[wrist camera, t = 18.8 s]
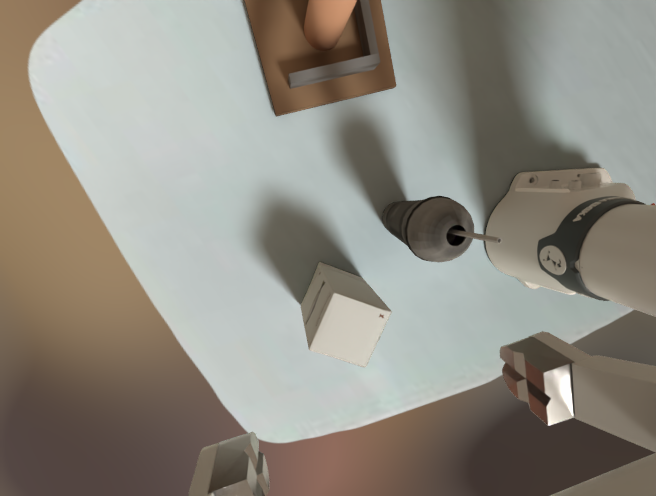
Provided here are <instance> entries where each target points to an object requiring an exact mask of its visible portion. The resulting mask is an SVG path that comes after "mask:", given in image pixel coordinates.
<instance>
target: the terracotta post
mask: <svg viewBox="0 0 656 496" xmlns="http://www.w3.org/2000/svg"><path fill="white" fill-rule="evenodd" d="M356 1H357V0H309V1H308V6H307V12H306V17H305V23H304V34H305V37H306V40H307V41H308V43H309V44H310V45H311V46H312V47H313V48H315V49H317V50H320V51H327V50H330V49H332V48H333V47H335V46H336V44H337V43H338V41H339V39H340V37H341V34H342V32H343V30H344V28H345V26H346V23H347V21H348V19H349V17H350V15H351V12H352V10H353V8H354V6H355V4H356Z"/></svg>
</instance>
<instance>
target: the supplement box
mask: <svg viewBox="0 0 656 496" xmlns="http://www.w3.org/2000/svg"><path fill="white" fill-rule="evenodd" d="M301 311H302V316H303V321H304V326H305V332H306V336H307V342H308V347H309V350H310V351H314V352H317V353H321V354H324V355H327V356H331V357H334V358H337V359H340V360H343V361H346V362H349V363H352V364H355V365H358V366H361V367H366V366H367V364H368V362H369V360H370V358H371V355H372V353H373V351H374V349H375V347H376V345H377V342H378V341H379V339H380V336H381V334H382V332H383V330H384V327H385V325H386V323H387V321H388V319H389V317H390V315H391V313H392V311H391V310H390V309H389V308H388V307H387V305H386V304H385V303H384V302H383V301H382V300H381V299H380V297H379V296H378V295H377V294H376V293H375V292H374V291H373V289H372V288H371V287H370V286H369V285H368V284H367V283H366V281H365V280H364V279H363V278H361V277H359V276H356V275H353V274H351V273H348V272H346V271H343V270H340V269H337V268H335V267H332V266H330V265H327V264H324V263H321V262H319V263H318V266H317V268H316V271H315V274H314V276H313V279H312V281H311V283H310V286H309V288H308V290H307V293H306V295H305V297H304V299H303V301H302V303H301Z"/></svg>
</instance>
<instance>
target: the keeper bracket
mask: <svg viewBox="0 0 656 496" xmlns="http://www.w3.org/2000/svg"><path fill="white" fill-rule="evenodd" d="M244 1H245V5H246V9H247V12H248V16H249V19H250V23H251V27H252V30H253V34H254V38H255V41H256V45H257V49H258V52H259V56H260V59H261V63H262V67H263V70H264V74H265V78H266V81H267V85H268V89H269V92H270V96H271V99H272V103H273V107H274V110H275V114H276V116H280V115H284V114H288V113H293V112H297V111H301V110H305V109H309V108H313V107H317V106H322V105H326V104H330V103H334V102H338V101H342V100H347V99H351V98H355V97H359V96H363V95H367V94H371V93H376V92H380V91H384V90H388V89H392V88H394V87H396V81H395V76H394V70H393V65H392V59H391V54H390V48H389V43H388V37H387V32H386V26H385V21H384V15H383V10H382V4H381V0H357V1H356V4H355V6H354V8H353V10H352V12H351V15H350V17H349V19H348V21H347V23H346V26H345V28H344V30H343V32H342V34H341V37H340V39H339V41H338V43H337V44H336V46H335V47H333V48H332V49H330V50H327V51H320V50H317V49H315V48H313V47H312V46H311V45H310V44H309V43H308V41H307V40H306V37H305V34H304V23H305V17H306V12H307V6H308V1H309V0H244Z"/></svg>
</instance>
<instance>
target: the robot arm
mask: <svg viewBox="0 0 656 496" xmlns="http://www.w3.org/2000/svg"><path fill="white" fill-rule="evenodd" d="M530 179H531V181H530V182H529V180H530ZM486 235H488V236H493V237H499V238H501V239H502V242H501V243H494V242H489V241H485V243H486V250H487V253H488V256H489V258H490V260H491V262H492V263H493V265H494V266H495V267H496V268H497V269H498V270H500V271H501V272H503V273H504V274H507V275H509V276H512V277H515V278H517V279H519V281H520V282H521V283H522V284H523V285H524V286H526V287H528V288H531V289H537V288H539V287H545V288H548V289H552V290H555V291H559V292H562V293H566V294H575V293H576V292H577V293H578V294H580V295H583V296H586V297H590V298H595V299H598V300H603V301H613V302H616V303H619V304H622V305H624V306H627V307H630V308H633V309H636V310H638V311H641V312H644V313H647V314H649V315H653V316H655V317H656V205H655V204H654V203H653V204H651V205H646V204H644V203H642V202H639V201H636V198H635V195H634V193H633V191H632V190H631V188H630V187H629V186H628V185H626V184H625V183H613V182H612V180H611V177H610V175H609V174H608V172H607V171H606V170H605V169H604V168H582V169H566V170H550V171H534V172H521V173H519V174H517V175H516V177H515V178H514V180H513V182H512V184H511V187H510V189H509V192H508V193H507V194H506V196H505V197H504V198H503V199H502V200H501V201H500V202H499V204H498V205H497V206H496V208H495V209H494V211H493V212H492V214H491V216H490V219H489V221H488V224H487V228H486ZM500 358H501V359H502V360H503V361H505V364H504V367H503V369H502V373H503V378H504V381H505V383H506V385H507V387H508V388H509V390H510V391H511V392H512V393H513V395H514V396H516V397H517V398H518V399H519V400H522V401H525V402H528V403H529V406H530V410H531V411H532V412H534V413H535V414H536V415H537V416H538V417H539V418H540V419H541V420H543V422H545V423H546V424H547V425H548V426H549V425H553V424H555V423H558V422H561V421H564V420H567V419H570V418H573V417H575V419H578V420H580V421H583V422H585V423H587V424H590V425H592V426H594V427H597V428H599V429H602V430H604V431H606V432H609V433H611V434H613V435H616V436H618V437H621V438H623V439H625V440H628V441H630V442H633V443H635V444H637V445H640V446H642V447H644V448H647V449H649V450H651V451H654V452H656V366H651V365H645V364H641V363H635V362H630V361H625V360H620V359H614V358H609V357H604V356H598V355H595V356H592V357H591V356H590V355H588V354H586V353H584V352H582V351H581V350H579V349H577V348H575V347H573V346H572V345H570V344H568V343H566V342H564V341H563V340H561V339H559V338H557V337H555V336H553V335H552V334H550V333H548V332H543V331H542V332H540V333H537V334H534V335H532V336H529V337H528V338H524V339H522V340H519V341H516V342H513V343H510V344H507V345H504V346H502V347H501V348H500ZM258 447H259V441H258V439H257V436H256V434H255V433H254V432H250V433H247V434H244V435H241V436H238V437H235V438H232V439H228V440H226V441H222V442H220V443H217V444H214V445H210V446H207V447H204V448H203V449H202V450H201V452H200V454H199V458H198V462H197V465H196V469H195V472H194V476H193V480H192V483H191V487H190V490H189V494H188V496H266V495H267V493H268V492H269V475H268V468H267V464H266V460H265V457H264V455H263V453H261V452H259V451H258ZM551 496H656V453H655V454H652V455H650V456H647V457H645V458H642V459H640V460H637V461H635V462H632V463H630V464H627V465H625V466H622V467H620V468H617V469H615V470H612V471H610V472H607V473H605V474H603V475H600V476H598V477H595V478H593V479H590V480H588V481H585V482H583V483H580V484H578V485H575V486H573V487H570V488H568V489H565V490H563V491H561V492H558V493H556V494H553V495H551Z"/></svg>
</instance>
